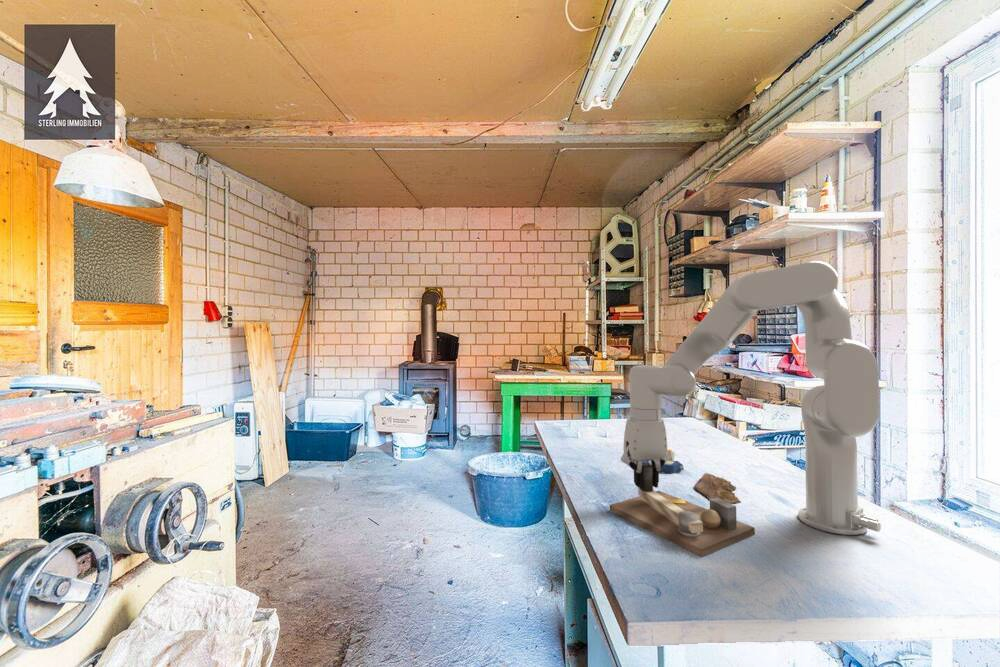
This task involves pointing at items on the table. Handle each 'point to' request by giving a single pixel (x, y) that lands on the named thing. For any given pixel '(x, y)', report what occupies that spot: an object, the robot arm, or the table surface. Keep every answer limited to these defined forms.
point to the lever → (668, 504)
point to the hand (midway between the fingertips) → (646, 485)
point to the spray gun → (669, 464)
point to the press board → (715, 535)
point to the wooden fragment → (716, 488)
